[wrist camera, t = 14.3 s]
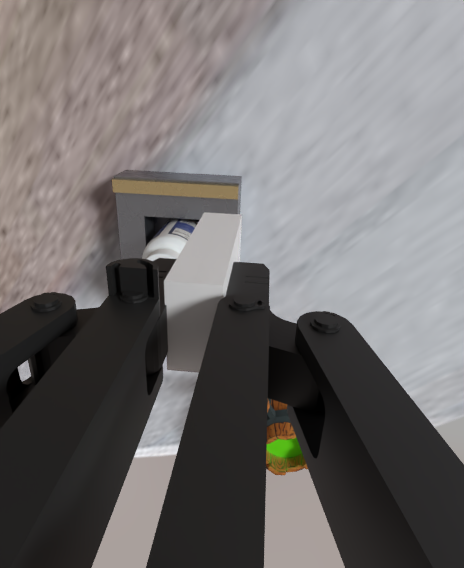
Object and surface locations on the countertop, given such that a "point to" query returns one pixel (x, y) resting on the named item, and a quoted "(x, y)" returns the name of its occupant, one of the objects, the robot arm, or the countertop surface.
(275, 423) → the mug
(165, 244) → the pill bottle
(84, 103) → the countertop surface
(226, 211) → the jig
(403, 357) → the countertop surface
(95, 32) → the countertop surface
